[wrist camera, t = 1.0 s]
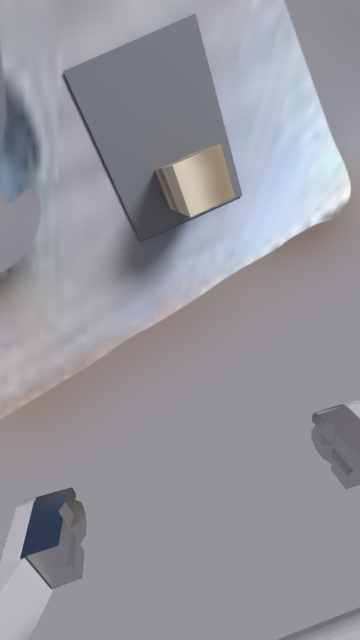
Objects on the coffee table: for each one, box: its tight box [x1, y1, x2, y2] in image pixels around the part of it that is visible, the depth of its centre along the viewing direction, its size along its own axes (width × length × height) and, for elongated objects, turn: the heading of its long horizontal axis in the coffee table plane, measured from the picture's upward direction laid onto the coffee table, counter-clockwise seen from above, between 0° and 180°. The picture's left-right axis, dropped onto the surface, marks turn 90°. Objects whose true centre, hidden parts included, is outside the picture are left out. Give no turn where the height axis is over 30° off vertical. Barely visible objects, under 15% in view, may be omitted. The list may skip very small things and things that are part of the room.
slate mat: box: [63, 14, 242, 241], centre depth 37 cm, size 16×20×1 cm
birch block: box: [155, 144, 235, 217], centre depth 34 cm, size 5×5×12 cm
